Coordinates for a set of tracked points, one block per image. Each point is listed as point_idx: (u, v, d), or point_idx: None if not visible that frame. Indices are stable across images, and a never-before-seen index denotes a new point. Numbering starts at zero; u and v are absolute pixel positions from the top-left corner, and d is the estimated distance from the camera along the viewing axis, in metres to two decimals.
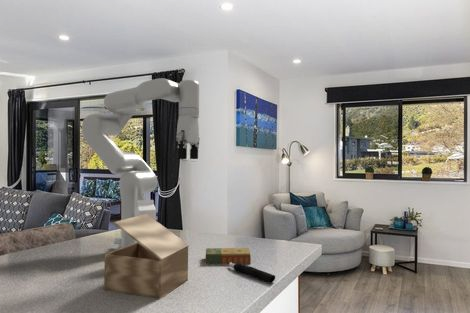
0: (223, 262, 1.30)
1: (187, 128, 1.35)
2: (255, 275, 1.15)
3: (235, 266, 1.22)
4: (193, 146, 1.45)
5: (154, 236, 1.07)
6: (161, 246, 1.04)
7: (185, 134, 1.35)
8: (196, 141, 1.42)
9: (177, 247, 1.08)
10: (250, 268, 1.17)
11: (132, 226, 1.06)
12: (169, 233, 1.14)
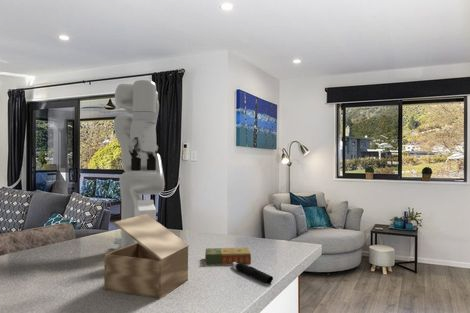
0: (223, 262, 1.30)
1: (141, 135, 1.17)
2: (254, 275, 1.15)
3: (237, 266, 1.23)
4: (150, 155, 1.27)
5: (154, 236, 1.07)
6: (161, 246, 1.04)
7: (139, 142, 1.17)
8: (153, 150, 1.24)
9: (177, 247, 1.08)
10: (250, 268, 1.18)
11: (132, 226, 1.06)
12: (169, 233, 1.14)
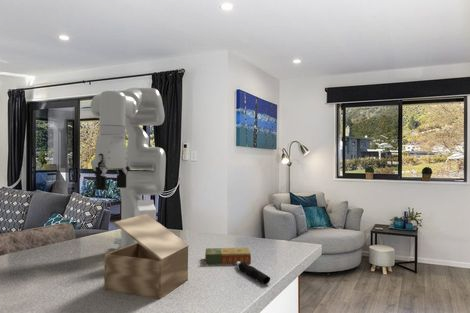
0: (223, 262, 1.30)
1: (106, 151, 1.08)
2: (253, 275, 1.15)
3: (239, 265, 1.23)
4: (121, 172, 1.17)
5: (154, 236, 1.07)
6: (161, 246, 1.04)
7: (104, 159, 1.08)
8: (122, 166, 1.14)
9: (177, 247, 1.08)
10: (250, 268, 1.18)
11: (132, 226, 1.06)
12: (169, 233, 1.14)
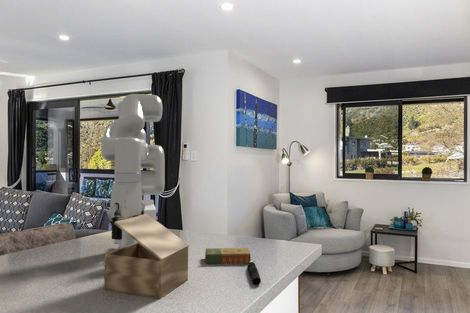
0: (223, 262, 1.30)
1: (122, 200, 1.06)
2: (250, 275, 1.15)
3: None
4: None
5: (154, 236, 1.07)
6: (161, 246, 1.04)
7: (120, 208, 1.06)
8: (138, 212, 1.13)
9: (177, 247, 1.08)
10: (251, 267, 1.18)
11: (132, 226, 1.06)
12: (169, 233, 1.14)
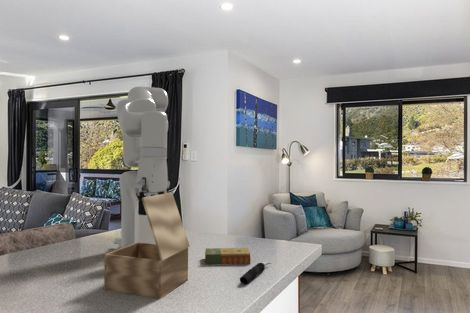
0: (223, 262, 1.30)
1: (150, 175, 1.03)
2: None
3: None
4: None
5: (167, 227, 1.05)
6: (168, 242, 1.03)
7: (147, 183, 1.03)
8: (164, 188, 1.10)
9: (179, 247, 1.08)
10: None
11: (155, 207, 1.03)
12: (180, 225, 1.12)
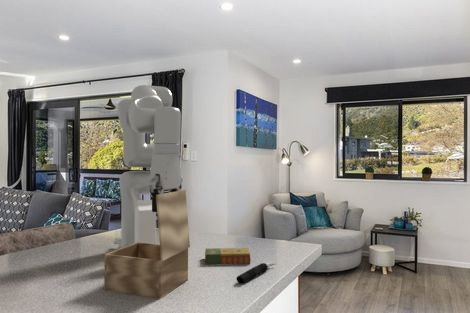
0: (223, 262, 1.30)
1: (164, 171, 1.02)
2: None
3: None
4: (174, 191, 1.12)
5: (173, 226, 1.05)
6: (171, 242, 1.03)
7: (161, 179, 1.02)
8: (177, 186, 1.08)
9: (180, 247, 1.08)
10: None
11: (166, 206, 1.02)
12: (185, 225, 1.12)
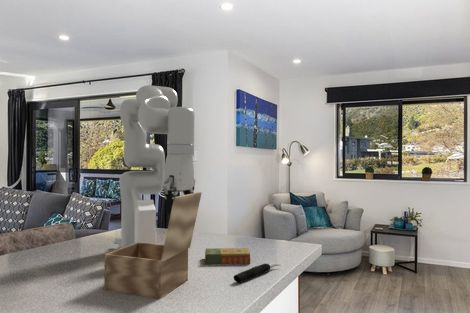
0: (223, 262, 1.30)
1: (178, 173, 1.00)
2: None
3: None
4: (187, 192, 1.10)
5: (181, 228, 1.04)
6: (175, 243, 1.02)
7: (175, 181, 1.00)
8: (190, 187, 1.07)
9: (181, 248, 1.07)
10: (253, 267, 1.18)
11: (180, 208, 1.01)
12: (192, 226, 1.11)
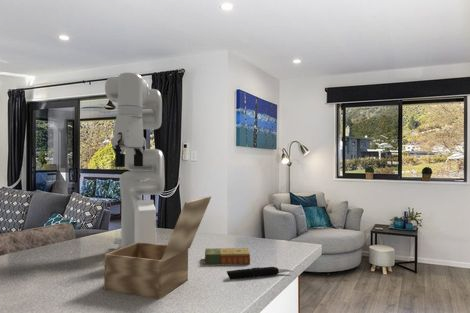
0: (222, 262, 1.30)
1: (125, 130, 1.13)
2: None
3: None
4: (137, 151, 1.23)
5: (185, 230, 1.04)
6: (177, 245, 1.02)
7: (123, 137, 1.13)
8: (139, 145, 1.20)
9: (182, 249, 1.07)
10: None
11: (189, 212, 1.00)
12: (196, 228, 1.11)
